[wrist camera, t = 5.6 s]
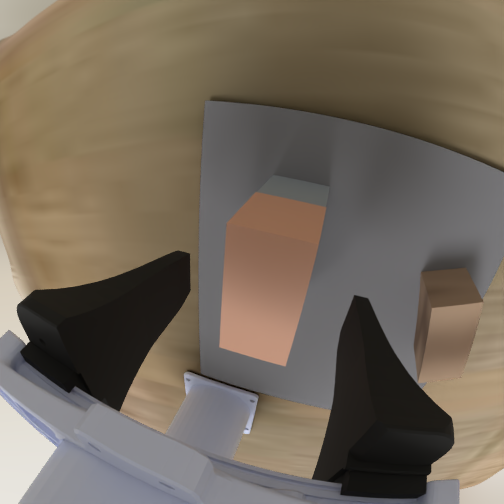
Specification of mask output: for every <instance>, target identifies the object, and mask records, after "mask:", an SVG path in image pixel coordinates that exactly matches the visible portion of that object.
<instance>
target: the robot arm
mask: <svg viewBox="0 0 504 504" xmlns="http://www.w3.org/2000/svg"><path fill="white" fill-rule="evenodd" d="M190 290H191V289H190V254H189V253H185V252H182V251H175V252H172V253H170V254H168V255H165V256H163V257H161V258H158V259H156V260H154V261H152V262H149V263H147V264H145V265H143V266H140V267H138V268H136V269H133V270H131V271H128V272H126V273H123V274H121V275H118V276H115V277H112V278H109V279H105V280H102V281H98V282H94V283H90V284H85V285H81V286H75V287H69V288H61V289H45V290H34V291H33V292H32V293H31V294H30V295H29V296H27V297H26V298H25V299H24V300H23V301H22V302H20V303H19V304H18V306H17V313H18V317H19V320H20V322H21V324H22V326H23V328H24V330H25V332H26V334H27V336H28V338H29V340H30V342H29V343H28V344H27V345H25V343H24V342H23V341H22V340H21V339H20V338H19V337H17V336H16V335H15V334H14V333H13V332H11V331H10V330H8V331H7V332H6V333H5V334H4V335H3V336H2V337H1V338H0V395H1V396H2V397H3V398H4V399H5V400H6V401H7V402H8V403H9V404H10V405H11V406H12V407H13V408H14V409H15V410H16V411H17V412H18V413H19V414H20V415H21V416H22V417H23V418H25V420H27V421H28V422H29V423H30V424H31V425H32V426H33V427H34V428H36V430H38V431H39V432H40V433H41V434H42V435H43V436H45V437H46V438H47V439H48V440H49V441H51V442H52V443H53V444H54V445H55V446H57V449H56V450H55V451H54V453H53V455H52V456H51V457H50V458H49V460H48V461H47V463H46V464H45V466H44V467H43V468H42V470H41V471H40V473H39V474H38V476H37V477H36V479H35V480H34V481H33V483H32V484H31V486H30V487H29V489H28V490H27V492H26V493H25V495H24V496H23V498H22V499H21V500H20V502H19V504H459V480H458V479H452V480H436V481H430V482H427V475H429V474H430V473H431V464H432V463H434V462H435V461H436V460H438V459H439V458H441V457H442V456H443V455H445V454H446V453H447V452H448V451H449V450H450V449H451V448H452V446H453V445H454V429H453V422H452V418H451V417H450V416H449V415H448V414H447V413H446V412H445V411H444V410H442V409H441V408H440V407H439V406H438V405H437V404H436V403H435V402H434V401H433V400H432V399H431V398H430V397H429V396H428V395H427V394H426V393H425V392H424V391H423V390H422V389H421V388H420V386H419V385H418V384H417V383H416V382H415V380H414V379H413V378H412V377H411V375H410V374H409V373H408V371H407V370H406V369H405V367H404V366H403V364H402V363H401V361H400V360H399V358H398V357H397V355H396V354H395V352H394V350H393V348H392V347H391V345H390V343H389V341H388V339H387V337H386V335H385V333H384V331H383V329H382V327H381V325H380V323H379V321H378V319H377V316H376V314H375V312H374V310H373V307H372V305H371V303H370V301H369V299H368V298H366V297H361V296H357V295H354V297H353V300H352V302H351V305H350V308H349V310H348V313H347V315H346V318H345V320H344V323H343V326H342V328H341V331H340V336H339V342H338V348H337V357H336V372H335V386H334V396H333V404H332V408H331V413H330V418H329V422H328V426H327V430H326V434H325V438H324V442H323V445H322V449H321V452H320V456H319V459H318V462H317V465H316V468H315V471H314V474H313V477H312V479H308V478H303V477H297V476H293V475H288V474H283V473H279V472H275V471H271V470H267V469H263V468H259V467H255V466H252V465H248V464H245V463H242V462H238V461H235V460H233V458H234V455H235V453H236V450H237V448H238V445H239V443H240V440H241V438H242V435H243V433H245V434H249V433H250V431H251V427H252V423H253V419H254V415H255V410H256V406H257V402H258V398H259V397H258V395H257V394H255V393H251V392H248V391H245V390H241V389H238V388H235V387H232V386H229V385H225V384H222V383H219V382H216V381H213V380H211V379H208V378H205V377H202V376H199V375H196V374H194V373H191V372H185V373H184V381H185V389H186V397H185V399H184V401H183V403H182V404H181V406H180V408H179V410H178V412H177V413H176V415H175V417H174V419H173V421H172V422H171V424H170V426H169V428H168V429H167V431H166V433H165V434H163V433H161V432H159V431H157V430H154V429H152V428H150V427H148V426H146V425H144V424H142V423H140V422H138V421H136V420H134V419H132V418H130V417H128V416H126V415H124V414H122V413H120V412H119V411H120V409H121V407H122V404H123V402H124V399H125V397H126V395H127V393H128V390H129V388H130V386H131V384H132V382H133V380H134V378H135V376H136V374H137V372H138V370H139V368H140V366H141V364H142V363H143V361H144V359H145V357H146V356H147V354H148V352H149V350H150V349H151V347H152V346H153V344H154V343H155V341H156V340H157V339H158V337H159V336H160V335H161V333H162V332H163V331H164V330H165V328H166V327H167V326H168V324H169V323H170V322H171V320H172V319H173V318H174V316H175V315H176V314H177V312H178V311H179V310H180V308H181V307H182V305H183V303H184V302H185V300H186V298H187V296H188V294H189V292H190Z"/></svg>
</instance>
